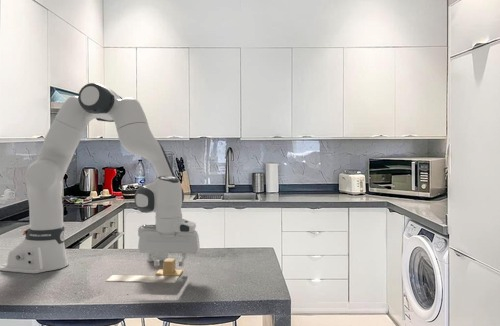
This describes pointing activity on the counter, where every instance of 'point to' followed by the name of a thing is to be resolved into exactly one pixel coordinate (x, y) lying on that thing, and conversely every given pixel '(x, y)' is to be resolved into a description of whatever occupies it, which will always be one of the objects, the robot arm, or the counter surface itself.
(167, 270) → the stepped wooden block
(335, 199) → the counter surface
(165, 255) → the supplement box
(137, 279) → the board
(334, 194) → the counter surface
